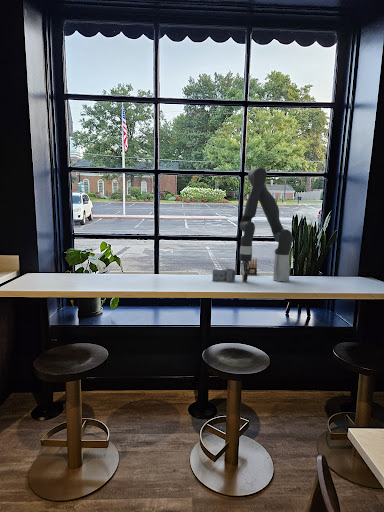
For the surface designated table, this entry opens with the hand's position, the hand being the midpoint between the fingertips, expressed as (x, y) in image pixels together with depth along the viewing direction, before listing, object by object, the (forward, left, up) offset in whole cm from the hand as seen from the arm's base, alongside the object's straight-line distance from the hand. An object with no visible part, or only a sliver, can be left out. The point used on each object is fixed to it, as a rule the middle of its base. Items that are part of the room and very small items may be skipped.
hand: (244, 280), depth 219 cm
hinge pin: (0, 0, -1) cm, 1 cm away
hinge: (+13, -7, -1) cm, 15 cm away
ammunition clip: (-9, -22, -1) cm, 24 cm away
